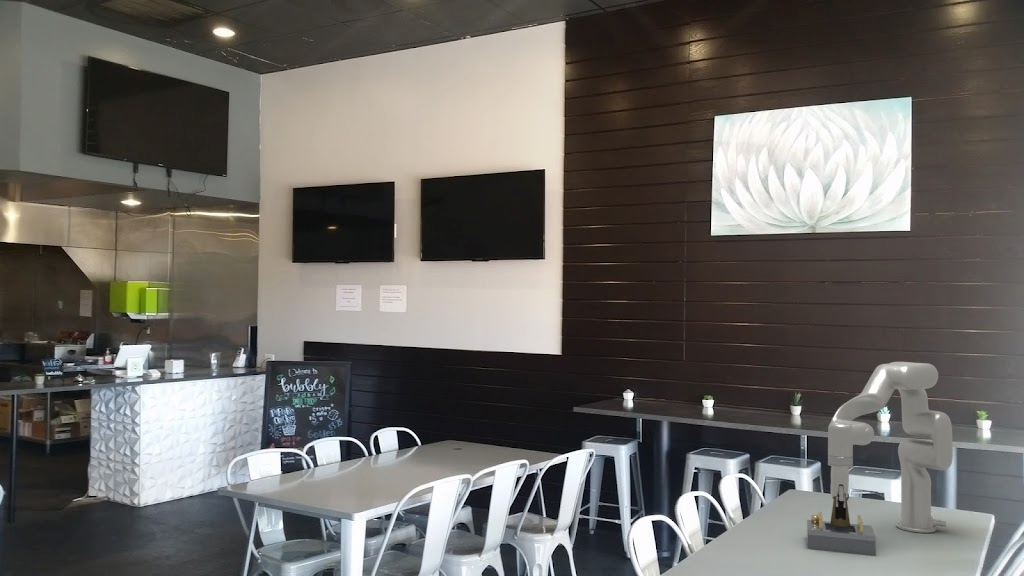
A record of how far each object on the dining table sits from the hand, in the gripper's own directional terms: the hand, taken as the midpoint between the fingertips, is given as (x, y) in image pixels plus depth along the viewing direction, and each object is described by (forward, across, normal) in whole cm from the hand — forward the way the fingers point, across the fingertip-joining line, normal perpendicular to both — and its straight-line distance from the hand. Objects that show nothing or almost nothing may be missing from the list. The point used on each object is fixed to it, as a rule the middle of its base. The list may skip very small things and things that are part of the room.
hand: (840, 517), depth 262 cm
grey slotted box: (+9, 0, 0) cm, 9 cm away
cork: (+2, 0, 0) cm, 2 cm away
